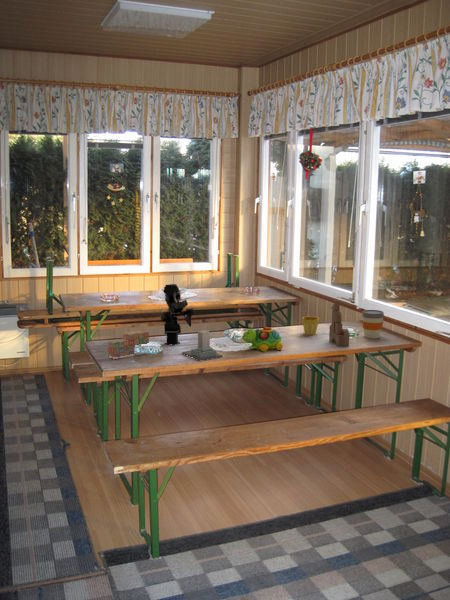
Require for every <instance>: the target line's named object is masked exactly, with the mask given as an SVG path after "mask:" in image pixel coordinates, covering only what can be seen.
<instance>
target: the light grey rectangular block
mask: <svg viewBox="0 0 450 600" xmlns="http://www.w3.org/2000/svg"><path fill="white" fill-rule="evenodd" d="M210 338H211V332H210V331H209V330H206V329H203V330H198V331H197V348H198V351H199V352H201V353H202V352H208V351H210V348H211V341H210V340H211V339H210Z"/></svg>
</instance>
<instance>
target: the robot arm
mask: <svg viewBox="0 0 450 600" xmlns="http://www.w3.org/2000/svg"><path fill="white" fill-rule="evenodd" d="M163 294H164V301H165V303H166V305H167V307H168V308H167V311H163V312H162V314H161V316H160V320H161V322H164V335H166V342H167V344H166V345H169V344H172V345H171V346H175V345H174V344H176V345H178V344H177V343H179V344H180V343H181V342H180V341H179V335H180V334H181V333H182V329H181V325H180V322H179V320H178V319H179V318H178V317H184V320H185V322H186V323H187V325H188V326H189V327H190V328H191V327H192V317H193V315H194V314H195V310H194V308H192V307H191V308H190V307H189V308H186V307H187V306H188V304H189V303H188V301H187V299H185V300H184V299H183V300H182V301H181V290H180V288H179V287H178V284H175V283H170V284H165V286H164V287H163ZM185 308H186V309H185ZM184 309H185V310H184Z"/></svg>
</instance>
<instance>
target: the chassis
mask: <svg viewBox="0 0 450 600" xmlns="http://www.w3.org/2000/svg"><path fill="white" fill-rule="evenodd" d="M182 353H183V354H182ZM181 354H182V355H184V354H185V355H184V356H186V355H188V356H190V357H189V358H191V357H193V358H195V359H194V360H196V359H198V360H204V361H207V360H206V359H209V360H212V359H211V358H215V359H217V358H216V357H220V358H222V357H223V354H220V353H218V352H217V349H213V348H212V347H210V351H208V352H202V353H201V352H199V351H198V347H197V348H192V349H191V350H187V351H186V350H185V351H182V352H181ZM188 356H187V357H188ZM221 356H222V357H221ZM193 358H192V359H193ZM198 360H197V361H198Z"/></svg>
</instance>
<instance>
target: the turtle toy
mask: <svg viewBox="0 0 450 600" xmlns="http://www.w3.org/2000/svg"><path fill="white" fill-rule="evenodd" d="M282 339H283V337H282V336H280V332H279V331H277V330H275V329H273V328H272V327H269V326H264V327H263V328H261V329H259V328H257V329H255V330H254V329H253V328H248V329H247V330H246V331H244V332H243V333H242V340H243V341H244V342H246V343H248V344H251V346H250V348H251V349H259V350H260V351H261V352H263V353H266V352H268V351H269V350H270V349H275V350H277V351H281V350H283V347H284V345H283V343H282Z"/></svg>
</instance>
